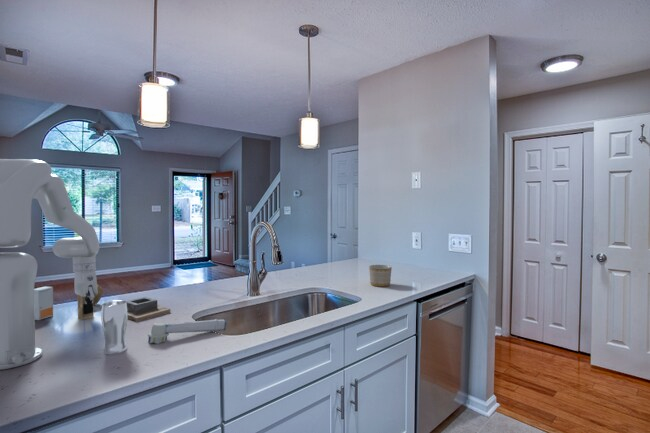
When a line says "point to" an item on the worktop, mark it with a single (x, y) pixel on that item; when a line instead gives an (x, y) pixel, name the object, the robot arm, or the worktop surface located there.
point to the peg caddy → (144, 309)
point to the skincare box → (43, 302)
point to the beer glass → (114, 326)
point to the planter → (380, 275)
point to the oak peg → (80, 308)
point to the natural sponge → (98, 296)
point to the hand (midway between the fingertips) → (85, 311)
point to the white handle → (183, 329)
